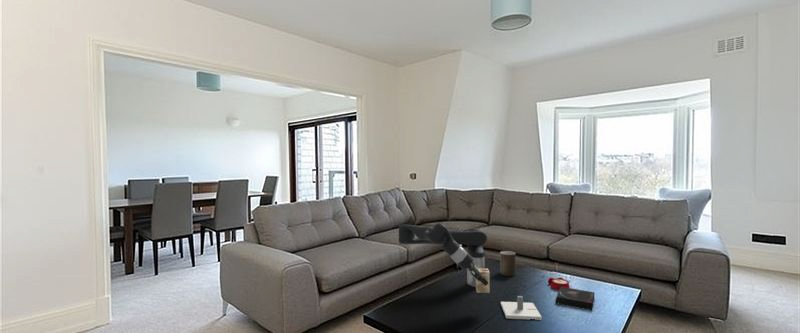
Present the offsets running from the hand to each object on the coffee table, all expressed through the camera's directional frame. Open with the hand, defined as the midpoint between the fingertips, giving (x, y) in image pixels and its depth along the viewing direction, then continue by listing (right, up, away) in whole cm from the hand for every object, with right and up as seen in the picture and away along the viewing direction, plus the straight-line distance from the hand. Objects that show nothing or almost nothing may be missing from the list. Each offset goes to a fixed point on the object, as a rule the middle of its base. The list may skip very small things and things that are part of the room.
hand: (486, 281), depth 178 cm
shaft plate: (+17, -15, 0) cm, 22 cm away
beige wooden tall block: (-2, -4, 0) cm, 5 cm away
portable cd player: (+50, -15, +13) cm, 54 cm away
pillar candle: (+27, -13, +57) cm, 65 cm away
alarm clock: (+50, -14, +34) cm, 62 cm away
